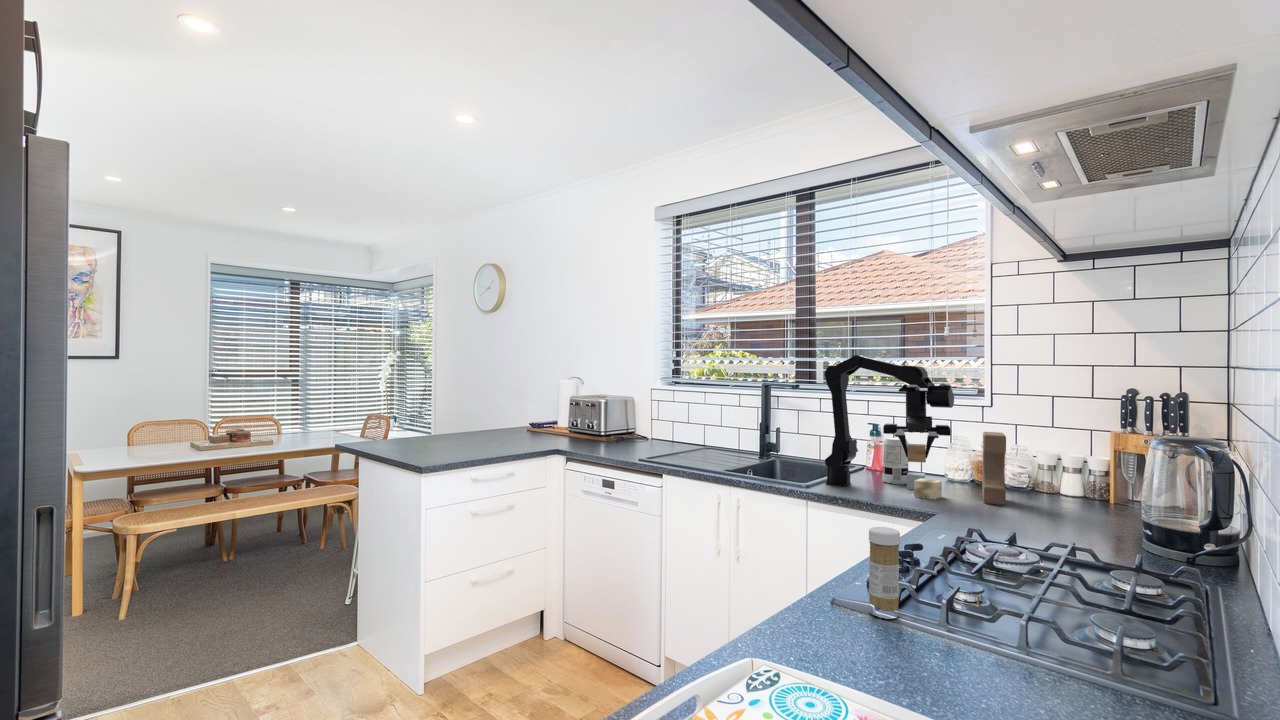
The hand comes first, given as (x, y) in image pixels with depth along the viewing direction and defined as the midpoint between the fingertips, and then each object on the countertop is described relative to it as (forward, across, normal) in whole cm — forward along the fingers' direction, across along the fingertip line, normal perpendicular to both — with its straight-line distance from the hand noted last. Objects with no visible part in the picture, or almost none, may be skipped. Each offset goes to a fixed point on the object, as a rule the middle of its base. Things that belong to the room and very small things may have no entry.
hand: (916, 457), depth 189 cm
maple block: (+12, +3, 0) cm, 12 cm away
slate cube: (+12, 0, +12) cm, 17 cm away
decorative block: (+12, +21, +2) cm, 24 cm away
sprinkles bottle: (+12, -6, -103) cm, 104 cm away
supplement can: (+12, -7, +20) cm, 24 cm away
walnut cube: (+1, 0, 0) cm, 1 cm away
